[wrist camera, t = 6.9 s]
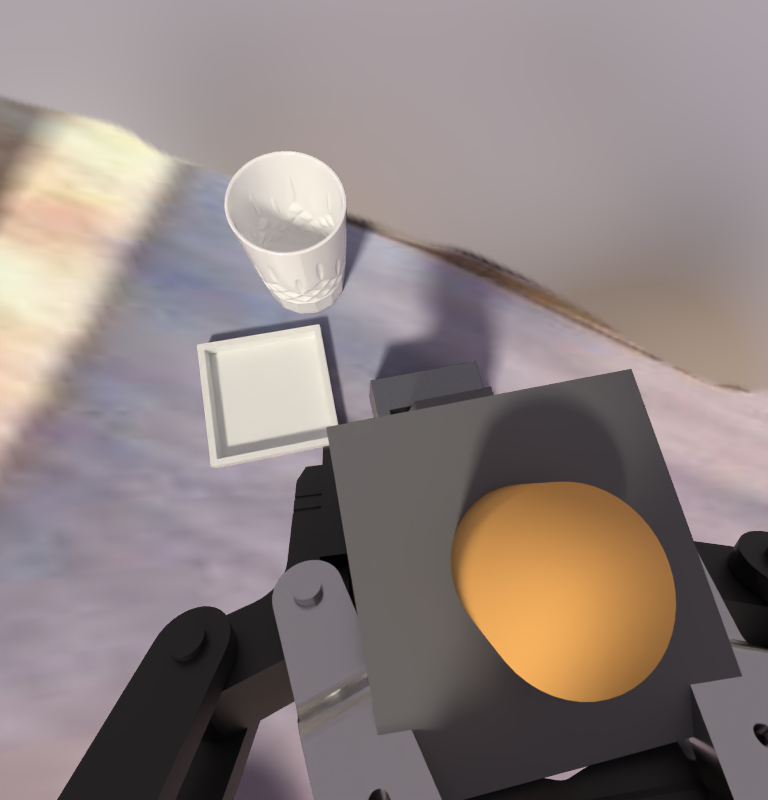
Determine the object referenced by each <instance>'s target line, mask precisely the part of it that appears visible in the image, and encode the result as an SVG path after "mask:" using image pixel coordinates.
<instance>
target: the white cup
mask: <svg viewBox="0 0 768 800" xmlns="http://www.w3.org/2000/svg"><path fill="white" fill-rule="evenodd" d="M225 213H226V217H227V220H228V222H229V224H230V226H231V228H232V230H233V231H234V233H235V235H236V236H237V238H238V240H239V242H240V243H241V245H242V247H243V248H244V250H245V252H246V254H247V255H248V257H249V259H250V261H251V262H252V264H253V266H254V267H255V269H256V271H257V272H258V273H259V275H260V277H261V279H262V280H263V281H264V283H265V284H266V286H267V287H268V288H269V290H270V292H271V294H272V295H273V297H274V298H275V299H276V300H277V301H278V302H279V303H280V304H281V305H282V306H283V307H284V308H286V309H289V310H292V311H295V312H297V313H300V314H302V313H317V312H319V311H321V310H323V309H325V308H327V307H329V306H331V305H332V304H333V303H334V302H335V301H336V299H337V298H338V297H339V295H340V294H341V292H342V289H343V283H344V277H345V264H346V221H347V199H346V193H345V189H344V187H343V184H342V182H341V180H340V179H339V177H338V175H337V174H336V173H335V172H334V171H333V170H332V169H331V168H330V167H329V166H328V165H327V164H325V163H324V162H322V161H321V160H319V159H317V158H315V157H313V156H310V155H308V154H304V153H301V152H294V151H278V152H271V153H267V154H264V155H261V156H259V157H257V158H255V159H253V160H251V161H249V162H248V163H246V164H245V165H244V166H243V167H241V168H240V170H238V171H237V173H236V174H235V175H234V176H233V178H232V179H231V181H230V183H229V185H228V188H227V190H226V194H225Z"/></svg>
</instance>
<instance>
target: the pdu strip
mask: <svg viewBox="0 0 768 800" xmlns="http://www.w3.org/2000/svg"><path fill="white" fill-rule="evenodd" d="M481 388H483V386H482V382H481V379H480V375H479V371H478V367H477V364H476V361H473V362H468V363H462V364H457V365H451V366H446V367H441V368H435V369H430V370H424V371H419V372H414V373H408V374H403V375H397V376H392V377H387V378H381V379H376V380H371V382H370V394H369V397H370V402H371V407H372V412H373V417H374V418H377V417H382V416H387V415H392V414H398V413H403V412H408V411H409V410H410V408H411V407H412V405H413V404H414V402H415V401H419V400H424V399H429V398H435V397H440V396H445V395H450V394H455V393H460V392H466V391H471V390H476V389H481Z"/></svg>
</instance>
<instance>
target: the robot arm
mask: <svg viewBox="0 0 768 800" xmlns="http://www.w3.org/2000/svg"><path fill="white" fill-rule="evenodd" d="M694 544H695V546H696V549H697V552H698V555H699V558H700V560H701V563H702V566H703V569H704V571H705V574H706V577H707V580H708V582H709V585H710V588H711V591H712V593H713V596H714V599H715V602H716V605H717V607H718V610H719V613H720V616H721V618H722V621H723V624H724V627H725V629H726V632H727V635H728V638H729V640H730V643H731V646H732V649H733V652H734V654H735V657H736V660H737V663H738V665H739V668H740V671H741V674H742V677H736V678H729V679H723V680H717V681H711V682H705V683H698V684H692V685H690V687H691V703H692V720H693V736H694V737H692V738H688V739H685V740H681V741H677V742H674V743H670V744H666V745H663V746H659V747H655V748H652V749H648V750H644V751H641V752H637V753H633V754H630V755H626V756H622V757H619V758H615V759H611V760H608V761H604V762H600V763H597V764H593V765H589V766H588V767H586V768H585V769H583V770H581V771H580V772H578V773H577V774H575V775H574V776H572V777H571V778H569V779H567V780H562V781H559V780H552V779H546V778H542V779H538V780H534V781H531V782H527V783H523V784H520V785H516V786H512V787H509V788H505V789H501V790H498V791H494V792H490V793H486V794H483V795H479V796H475V797H472V798H468V799H464V800H768V532H764V531H751V532H747V533H745V534H743V535H742V536H741V537H740V539H739V540H738V542H737V543H736V545H735V546H734V547H732V546H725V545H718V544H710V543H703V542H696V541H694ZM294 701H295V704H296V709H297V714H298V729H299V734H300V739H301V744H302V749H303V753H304V758H305V762H306V766H307V771H308V775H309V780H310V784H311V788H312V793H313V797H314V800H442V799H441V797H440V794H439V792H438V790H437V787H436V785H435V783H434V780H433V778H432V776H431V774H430V771H429V769H428V767H427V764H426V762H425V760H424V757H423V755H422V753H421V750H420V748H419V746H418V743H417V741H416V739H415V737H414V734H413V732H412V730H408V731H402V732H396V733H389V734H383V735H378V733H377V727H376V721H375V715H374V709H373V703H372V697H371V691H370V685H369V679H368V674H367V668H366V662H365V656H364V650H363V644H362V638H361V632H360V626H359V620H358V614H357V608H356V602H355V596H354V590H353V584H352V578H351V572H350V566H349V560H348V554H347V548H346V542H345V536H344V531H343V525H342V519H341V513H340V507H339V501H338V495H337V489H336V483H335V477H334V471H333V465H332V459H331V453H330V447H329V446H324V447H323V465H318V466H310V467H306V468H305V469H304V471H303V472H302V474H301V476H300V477H299V479H298V480H297V484H296V493H295V501H294V513H293V519H292V527H291V536H290V544H289V553H288V562H287V567H286V570H285V573H284V574H283V575H282V576H281V577H280V579H279V580H278V582H277V584H276V586H275V588H274V589H273V590H272V591H271V592H269V593H268V594H267V595H266V596H264V597H263V598H261V599H260V600H258V601H256V602H254V603H252V604H250V605H248V606H245V607H243V608H241V609H239V610H237V611H234V612H232V613H230V614H228V615H225V613H223V612H222V611H221V610H219V609H217V608H214V607H208V606H203V607H197V608H194V609H191V610H188V611H186V612H184V613H182V614H181V615H179V616H177V617H176V618H175V619H173V620H172V621H171V622H170V623H169V624H168V625H167V626H165V628H164V629H163V630H162V631H161V632H160V633H159V635H158V636H157V638H156V639H155V641H154V642H153V644H152V646H151V647H150V649H149V651H148V652H147V654H146V655H145V657H144V659H143V660H142V662H141V664H140V665H139V667H138V669H137V670H136V672H135V673H134V675H133V677H132V678H131V680H130V682H129V683H128V685H127V687H126V688H125V690H124V691H123V693H122V695H121V696H120V698H119V700H118V701H117V703H116V705H115V706H114V708H113V709H112V711H111V713H110V714H109V716H108V718H107V719H106V721H105V723H104V724H103V726H102V727H101V729H100V731H99V732H98V734H97V736H96V737H95V739H94V741H93V742H92V744H91V745H90V747H89V749H88V750H87V752H86V754H85V755H84V757H83V758H82V760H81V762H80V763H79V765H78V767H77V768H76V770H75V772H74V773H73V775H72V776H71V778H70V780H69V781H68V783H67V785H66V786H65V788H64V790H63V791H62V793H61V794H60V796H59V798H58V799H57V800H233V799H234V796H235V793H236V790H237V787H238V784H239V782H240V779H241V776H242V773H243V770H244V767H245V764H246V761H247V758H248V755H249V752H250V749H251V746H252V743H253V740H254V737H255V734H256V731H257V728H258V725H259V722H260V720H262V719H264V718H266V717H267V716H269V715H271V714H273V713H274V712H276V711H278V710H280V709H282V708H283V707H285V706H287V705H289V704H290V703H292V702H294Z"/></svg>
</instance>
